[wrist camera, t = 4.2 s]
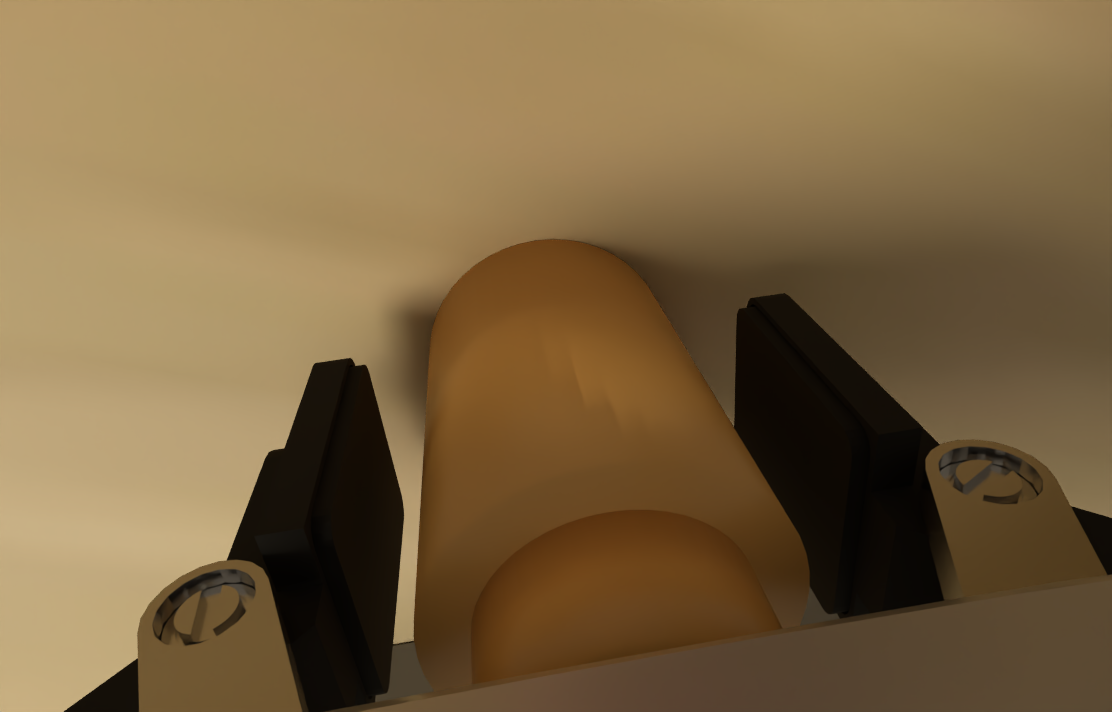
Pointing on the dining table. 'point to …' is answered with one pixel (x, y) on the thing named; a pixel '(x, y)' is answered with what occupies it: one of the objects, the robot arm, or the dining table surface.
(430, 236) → the dining table surface
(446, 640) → the tan domed cylinder
